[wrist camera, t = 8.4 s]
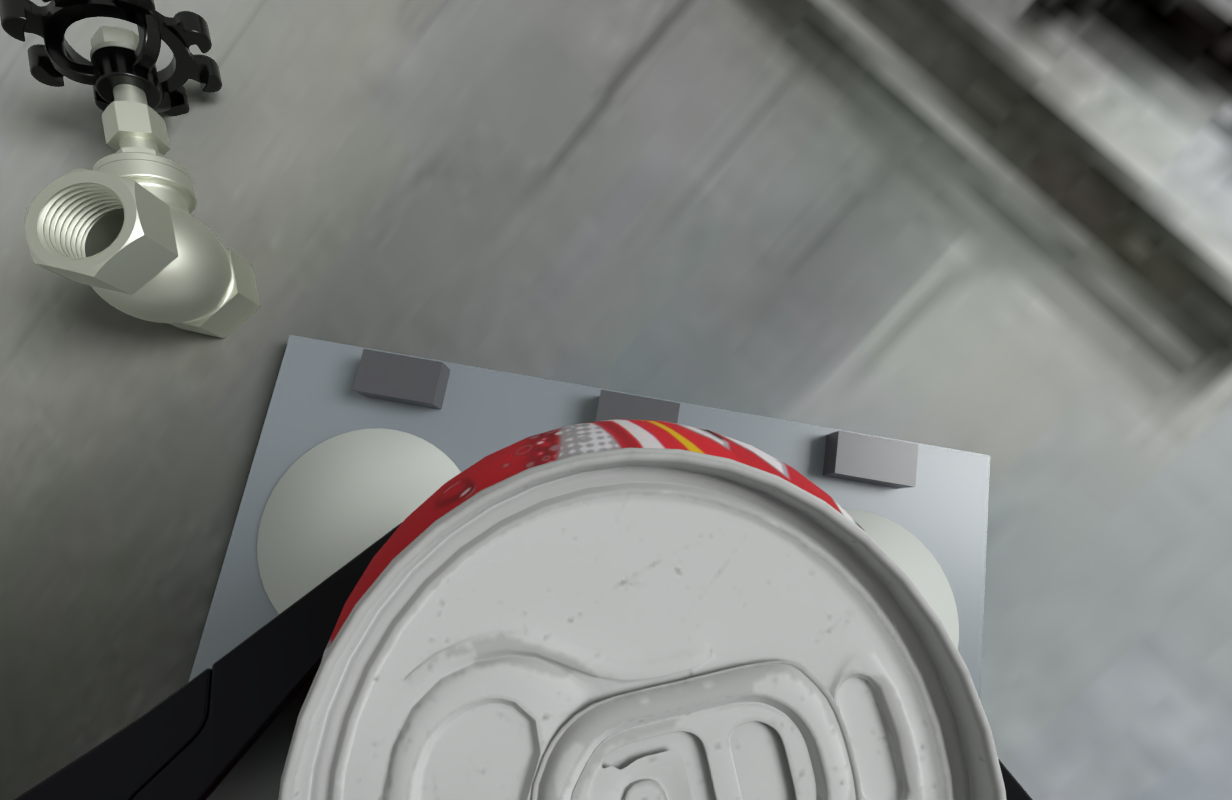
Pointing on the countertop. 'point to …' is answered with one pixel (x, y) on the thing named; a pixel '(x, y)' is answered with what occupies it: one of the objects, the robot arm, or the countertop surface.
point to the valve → (132, 171)
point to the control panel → (509, 412)
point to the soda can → (638, 641)
